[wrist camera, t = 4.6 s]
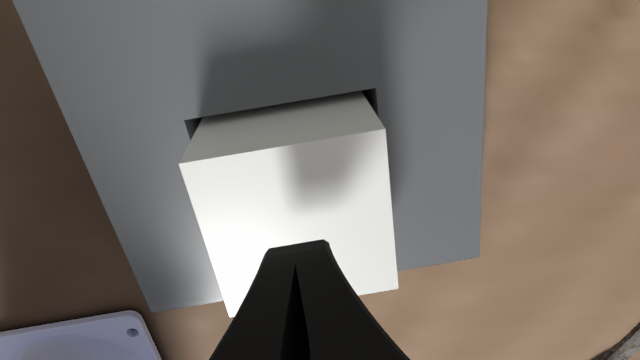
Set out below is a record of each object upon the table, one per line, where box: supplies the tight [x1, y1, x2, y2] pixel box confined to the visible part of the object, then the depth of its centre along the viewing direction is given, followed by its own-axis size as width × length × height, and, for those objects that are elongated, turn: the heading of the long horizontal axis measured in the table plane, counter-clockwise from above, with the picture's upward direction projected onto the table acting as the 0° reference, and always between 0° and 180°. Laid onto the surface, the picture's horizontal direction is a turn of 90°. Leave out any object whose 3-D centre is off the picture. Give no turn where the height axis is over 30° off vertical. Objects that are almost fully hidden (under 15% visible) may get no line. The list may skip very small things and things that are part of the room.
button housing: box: [12, 0, 488, 313], centre depth 13 cm, size 17×12×3 cm
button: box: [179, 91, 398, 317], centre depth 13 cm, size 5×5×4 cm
